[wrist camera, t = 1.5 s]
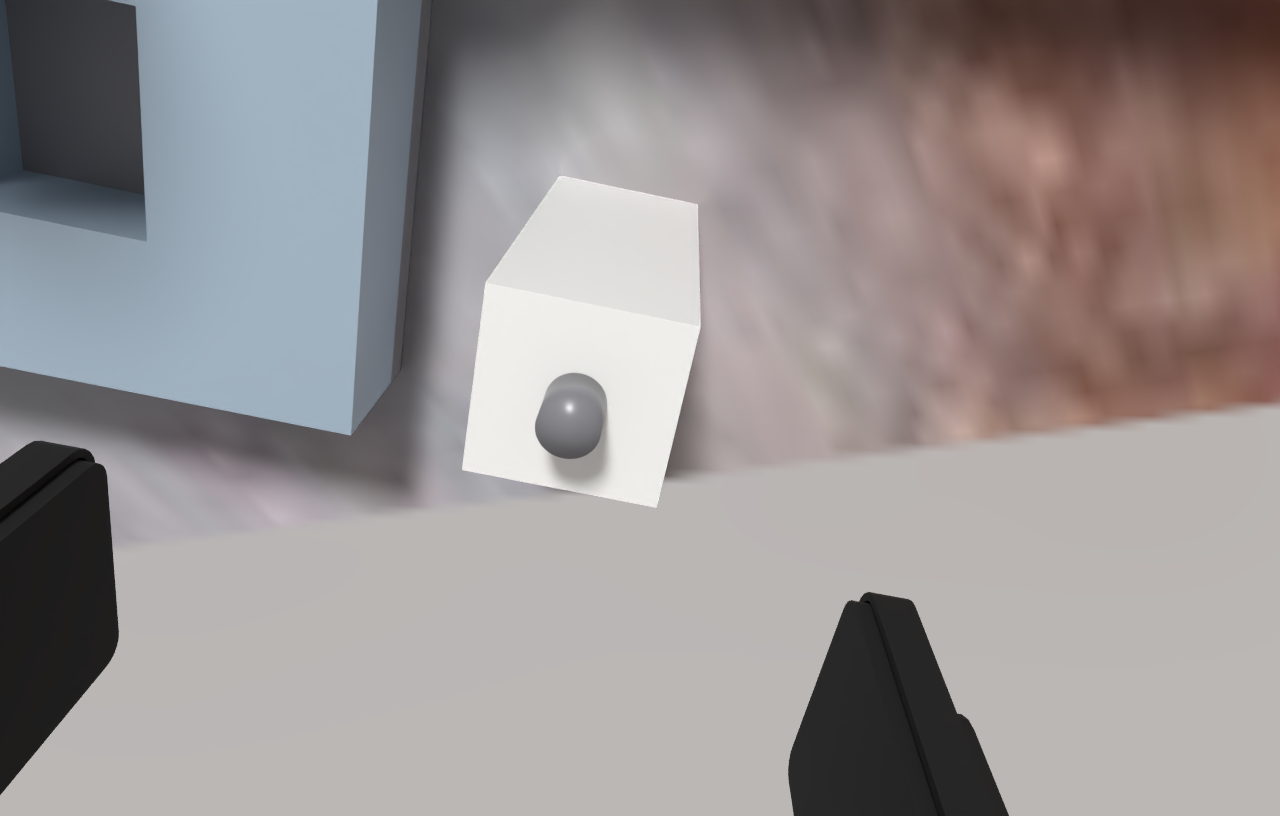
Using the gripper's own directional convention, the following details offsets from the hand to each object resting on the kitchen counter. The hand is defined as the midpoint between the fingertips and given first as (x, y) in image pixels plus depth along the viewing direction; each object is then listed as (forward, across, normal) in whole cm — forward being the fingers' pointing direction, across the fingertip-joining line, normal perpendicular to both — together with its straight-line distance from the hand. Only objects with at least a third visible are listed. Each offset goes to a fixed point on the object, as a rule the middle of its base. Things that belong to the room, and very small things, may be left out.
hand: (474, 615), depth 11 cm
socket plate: (+17, +13, -2) cm, 21 cm away
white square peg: (+16, -1, 0) cm, 17 cm away
